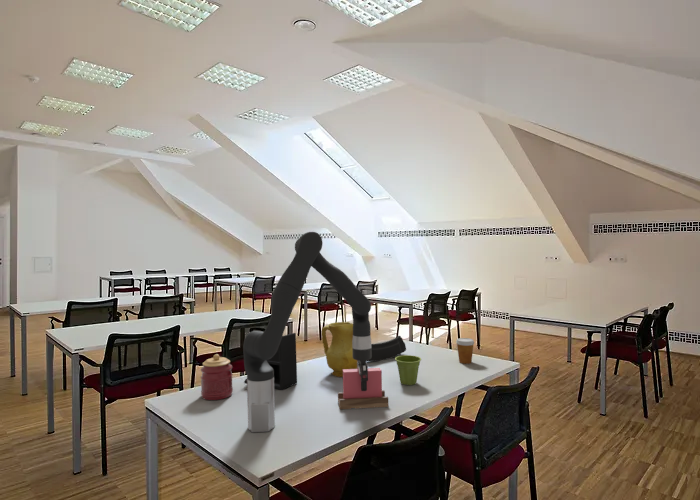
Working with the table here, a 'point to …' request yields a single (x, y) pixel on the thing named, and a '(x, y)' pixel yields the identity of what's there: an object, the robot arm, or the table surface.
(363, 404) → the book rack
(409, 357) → the plant pot
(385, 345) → the magazine
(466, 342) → the disposable coffee cup
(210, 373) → the canister
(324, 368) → the table surface
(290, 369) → the bookend
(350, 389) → the book
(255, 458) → the table surface
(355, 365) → the pitcher
